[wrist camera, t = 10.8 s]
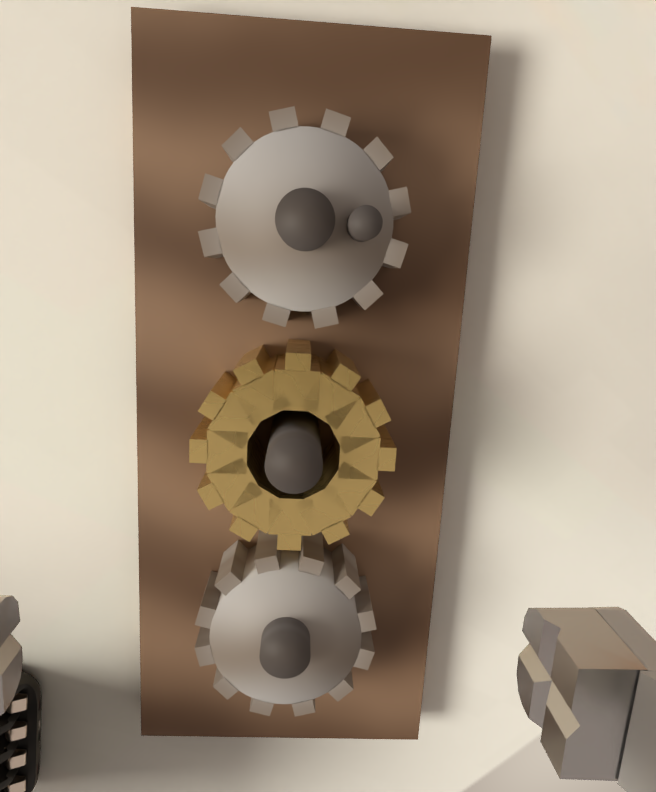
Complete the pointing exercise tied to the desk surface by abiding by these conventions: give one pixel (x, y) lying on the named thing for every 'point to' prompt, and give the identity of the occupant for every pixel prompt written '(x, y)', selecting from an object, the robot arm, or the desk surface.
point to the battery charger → (21, 738)
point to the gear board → (272, 327)
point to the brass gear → (245, 458)
